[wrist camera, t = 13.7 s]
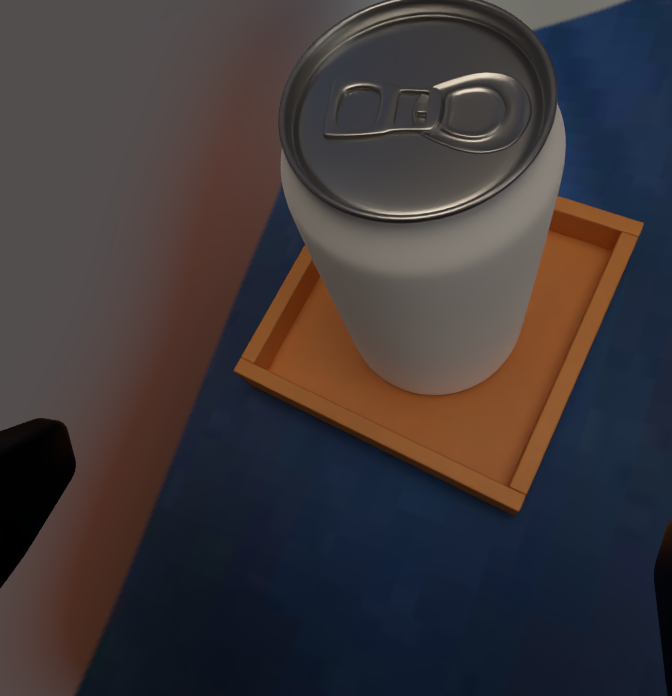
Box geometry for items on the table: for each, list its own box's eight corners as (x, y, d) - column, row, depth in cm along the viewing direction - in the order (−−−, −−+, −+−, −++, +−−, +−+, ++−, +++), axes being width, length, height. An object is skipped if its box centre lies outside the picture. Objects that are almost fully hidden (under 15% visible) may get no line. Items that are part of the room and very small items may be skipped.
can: (513, 409, 21) (571, 253, 10) (339, 387, 23) (226, 230, 12) (527, 249, 23) (590, -31, 12) (366, 238, 25) (291, -19, 14)
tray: (513, 516, 21) (519, 512, 19) (250, 384, 24) (232, 370, 22) (629, 249, 23) (644, 222, 21) (373, 164, 27) (366, 135, 25)
